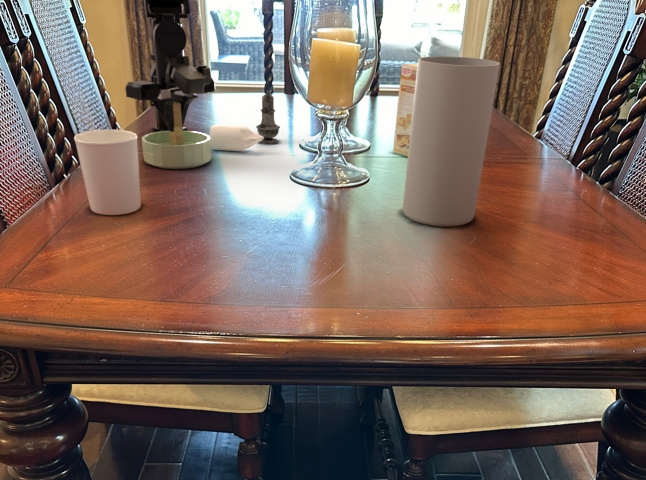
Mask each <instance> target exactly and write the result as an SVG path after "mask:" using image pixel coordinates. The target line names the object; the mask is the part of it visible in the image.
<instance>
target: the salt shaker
mask: <svg viewBox="0 0 646 480" xmlns="http://www.w3.org/2000/svg"><path fill="white" fill-rule="evenodd" d="M274 99H275V97H274V95H272V94H270V91H269V90H268V89H267V90H266V93H265V94H264V95H262V97H261V109H260V112H261V122H260V124H257V125H256V126H255V128H256V129H257V134H259V135H261V136H263V137H264V138H263V139H262V140H261V141H259V142H258V143H259V144H263V145H275V144H279V143H280V140H278V139H277V138H276V137H277V136H278V134H279V133H280V129H281V126H280V125H278V124H276V121H275V112H276V110H275V106H274V105H275V103H274V101H275V100H274Z"/></svg>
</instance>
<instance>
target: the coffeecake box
mask: <svg viewBox="0 0 646 480" xmlns="http://www.w3.org/2000/svg"><path fill="white" fill-rule="evenodd" d="M417 65H418V63H408V64H401V68H400V77H399V86H398V87H399V89H398V97H397V107H396V118H395V128H394V138H393V147H392V153H395V154H398V155H401V156H404V157H407V158H408V151H409V142H410V132H411V123H412V113H413V104H414V94H415V84H416V75H417Z"/></svg>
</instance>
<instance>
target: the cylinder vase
mask: <svg viewBox="0 0 646 480" xmlns="http://www.w3.org/2000/svg"><path fill="white" fill-rule="evenodd" d="M417 64H418V65H417V75H416V84H415V94H414V104H413V113H412V123H411V132H410V142H409V151H408V157H407V164H406V170H405V171H406V172H405V179H404V181H405V182H404V190H403V199H402V212H403V214H404V215H405V217H406V218H407V219H409V220H411V221H413V222H416V223H418V224H422V225H426V226H432V227H440V228H441V227H442V228H445V227H446V228H447V227H448V228H450V227H458V226H463V225H466V224H469V223H470V222H472V221H473V219H474V218H475V215H476V209H477V203H478V196H479V191H480V186H481V185H480V184H481V178H482V174H483V173H482V172H483V166H484V161H485V156H486V148H487V143H488V137H489V130H490V125H491V120H492V119H491V118H492V113H493V109H494V108H493V107H494V101H495V97H496V96H495V95H496V89H497V83H498V78H499V71H500V66H501V63H500V62H498V61H495V60H491V59H484V58H477V57H466V56H450V55H449V56H445V55H441V56H439V55H435V56H431V55H430V56H423V57H421V56H420V57H418V59H417Z"/></svg>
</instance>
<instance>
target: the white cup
mask: <svg viewBox="0 0 646 480" xmlns="http://www.w3.org/2000/svg"><path fill="white" fill-rule="evenodd" d="M73 140H74V142H75V146H76V151H77V156H78V161H79V165H80V169H81V174H82V177H83V182H84V187H85V191H86V196H87V200H88V204H89V208H90V210H91V211H92V212H93V213H95V214H98V215H102V216H103V215H104V216H120V215H126V214H131V213H134V212H136V211H138V210H139V209H140V208H141V205H142V203H141V202H142V201H141V184H140V183H141V182H140V178H141V177H140V164H139V163H140V162H139V147H138V146H139V145H138V134H137V133H135V132H133V131H130V130H125V129H124V130H123V129H94V130H88V131H83V132H79V133H77V134H75V135H74V137H73Z"/></svg>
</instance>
